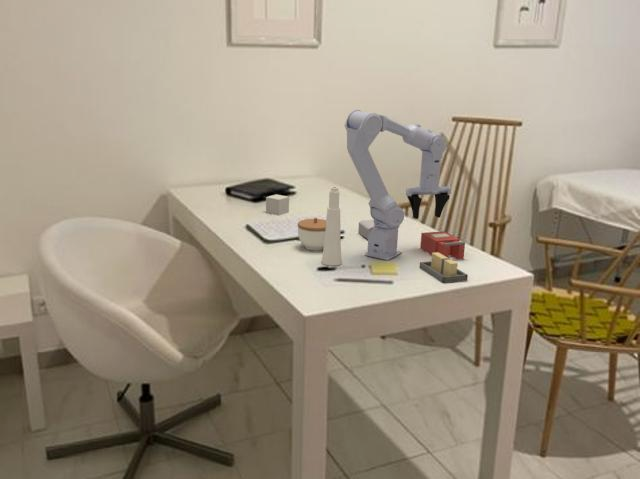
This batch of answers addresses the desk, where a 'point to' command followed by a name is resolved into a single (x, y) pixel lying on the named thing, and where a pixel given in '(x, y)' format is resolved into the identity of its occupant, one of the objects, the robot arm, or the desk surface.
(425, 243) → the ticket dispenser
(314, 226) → the lidded jar
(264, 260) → the desk surface
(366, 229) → the charger
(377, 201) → the robot arm
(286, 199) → the light gray cube
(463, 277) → the ticket tray
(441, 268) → the wooden blocks
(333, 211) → the cosmetic bottle
